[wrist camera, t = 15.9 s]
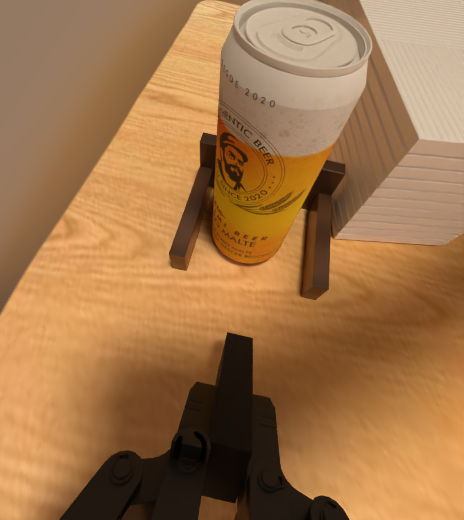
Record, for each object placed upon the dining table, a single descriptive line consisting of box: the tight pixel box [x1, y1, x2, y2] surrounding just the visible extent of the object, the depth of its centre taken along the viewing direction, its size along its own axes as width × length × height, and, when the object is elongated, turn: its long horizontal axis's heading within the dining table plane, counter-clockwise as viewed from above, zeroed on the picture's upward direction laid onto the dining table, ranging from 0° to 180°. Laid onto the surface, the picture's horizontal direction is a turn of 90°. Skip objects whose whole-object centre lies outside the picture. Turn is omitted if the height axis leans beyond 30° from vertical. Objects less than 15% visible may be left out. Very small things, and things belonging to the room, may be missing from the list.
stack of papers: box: [314, 0, 464, 246], centre depth 27 cm, size 32×11×11 cm, turn 179°
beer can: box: [212, 0, 372, 263], centre depth 17 cm, size 6×6×15 cm
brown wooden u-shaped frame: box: [169, 133, 345, 300], centre depth 21 cm, size 10×12×5 cm
